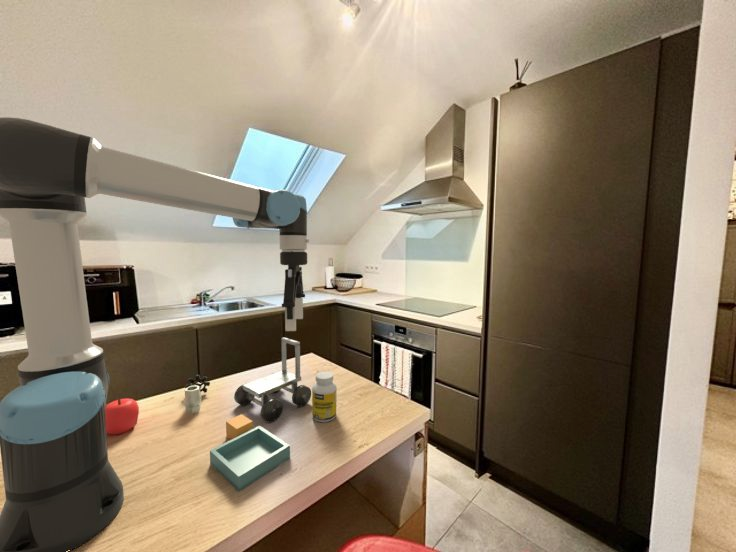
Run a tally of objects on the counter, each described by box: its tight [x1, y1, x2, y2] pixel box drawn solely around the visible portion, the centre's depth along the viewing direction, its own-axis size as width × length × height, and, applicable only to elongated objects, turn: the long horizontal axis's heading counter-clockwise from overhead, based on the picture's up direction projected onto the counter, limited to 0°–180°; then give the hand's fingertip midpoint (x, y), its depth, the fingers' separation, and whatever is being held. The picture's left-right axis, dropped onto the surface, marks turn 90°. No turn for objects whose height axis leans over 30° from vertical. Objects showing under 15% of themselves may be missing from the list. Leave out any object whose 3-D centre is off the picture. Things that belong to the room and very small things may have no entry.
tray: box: [209, 425, 291, 492], centre depth 65 cm, size 12×12×3 cm
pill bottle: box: [311, 371, 337, 423], centre depth 82 cm, size 6×6×12 cm
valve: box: [183, 374, 211, 415], centre depth 88 cm, size 7×7×12 cm
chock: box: [225, 413, 254, 441], centre depth 73 cm, size 4×5×4 cm
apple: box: [105, 397, 140, 436], centre depth 75 cm, size 8×8×8 cm
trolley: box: [233, 336, 312, 423], centre depth 87 cm, size 16×15×18 cm
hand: (294, 324), depth 88 cm, fingers open, 13 cm apart
